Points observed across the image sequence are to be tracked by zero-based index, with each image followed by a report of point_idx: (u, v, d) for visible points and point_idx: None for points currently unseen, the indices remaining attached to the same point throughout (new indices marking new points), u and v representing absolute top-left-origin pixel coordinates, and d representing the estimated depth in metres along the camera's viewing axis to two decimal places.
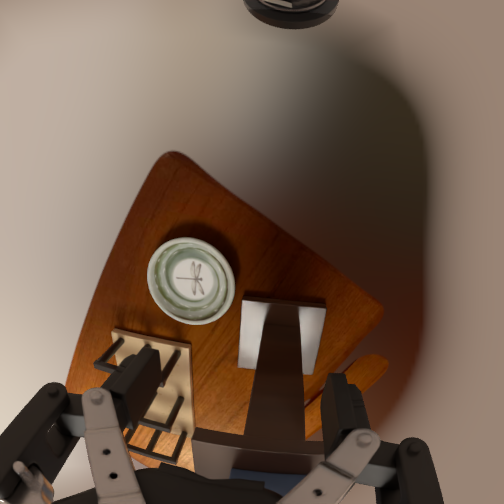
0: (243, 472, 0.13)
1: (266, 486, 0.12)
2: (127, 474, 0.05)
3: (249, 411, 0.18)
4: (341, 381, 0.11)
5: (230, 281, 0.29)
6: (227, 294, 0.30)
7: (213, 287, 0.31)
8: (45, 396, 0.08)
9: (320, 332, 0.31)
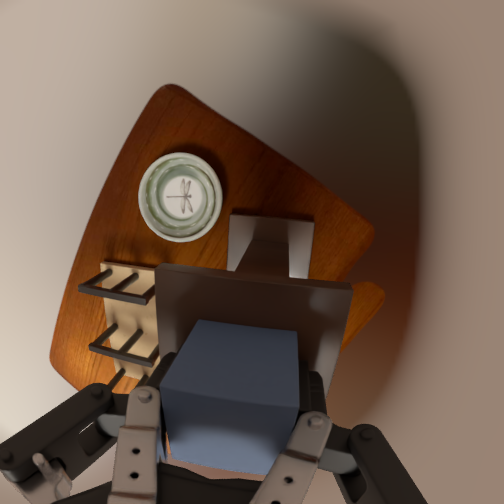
0: (212, 323, 0.13)
1: (238, 336, 0.12)
2: (149, 476, 0.06)
3: None
4: (302, 367, 0.12)
5: (218, 191, 0.29)
6: (214, 207, 0.30)
7: (201, 204, 0.31)
8: (87, 396, 0.09)
9: (309, 250, 0.31)
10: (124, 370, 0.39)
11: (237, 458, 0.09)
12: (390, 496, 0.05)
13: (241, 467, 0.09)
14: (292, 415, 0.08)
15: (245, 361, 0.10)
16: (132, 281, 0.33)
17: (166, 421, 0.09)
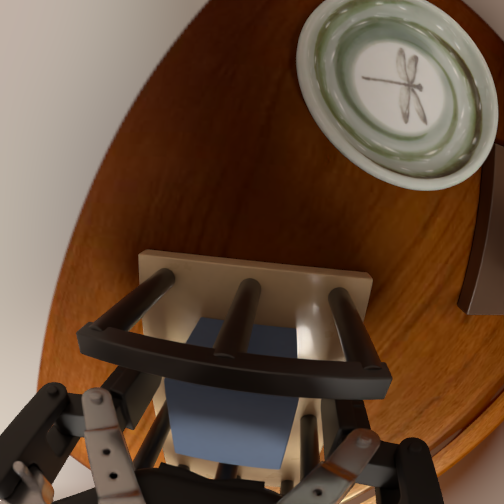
0: (214, 320, 0.14)
1: None
2: (127, 473, 0.05)
3: None
4: None
5: (492, 87, 0.08)
6: (481, 120, 0.09)
7: (444, 110, 0.10)
8: (45, 396, 0.08)
9: None
10: (187, 468, 0.17)
11: (238, 451, 0.10)
12: None
13: (242, 461, 0.10)
14: (292, 408, 0.09)
15: None
16: (257, 306, 0.11)
17: (170, 415, 0.10)
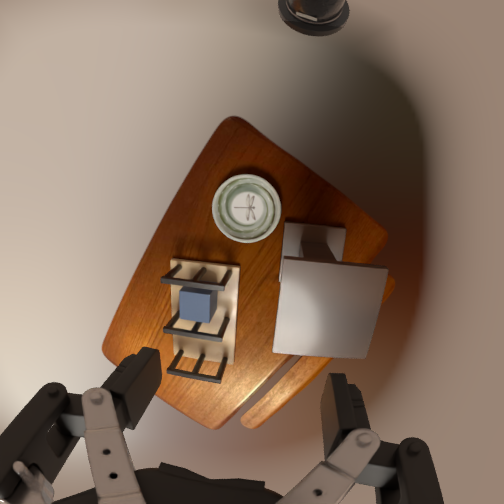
0: None
1: None
2: (127, 473, 0.05)
3: None
4: (341, 381, 0.11)
5: (278, 205, 0.40)
6: (274, 217, 0.41)
7: (262, 214, 0.42)
8: (45, 396, 0.08)
9: (342, 248, 0.42)
10: (183, 351, 0.49)
11: (197, 314, 0.42)
12: None
13: (198, 319, 0.42)
14: (209, 297, 0.41)
15: None
16: (203, 274, 0.43)
17: (179, 302, 0.41)
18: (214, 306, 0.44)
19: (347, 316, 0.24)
